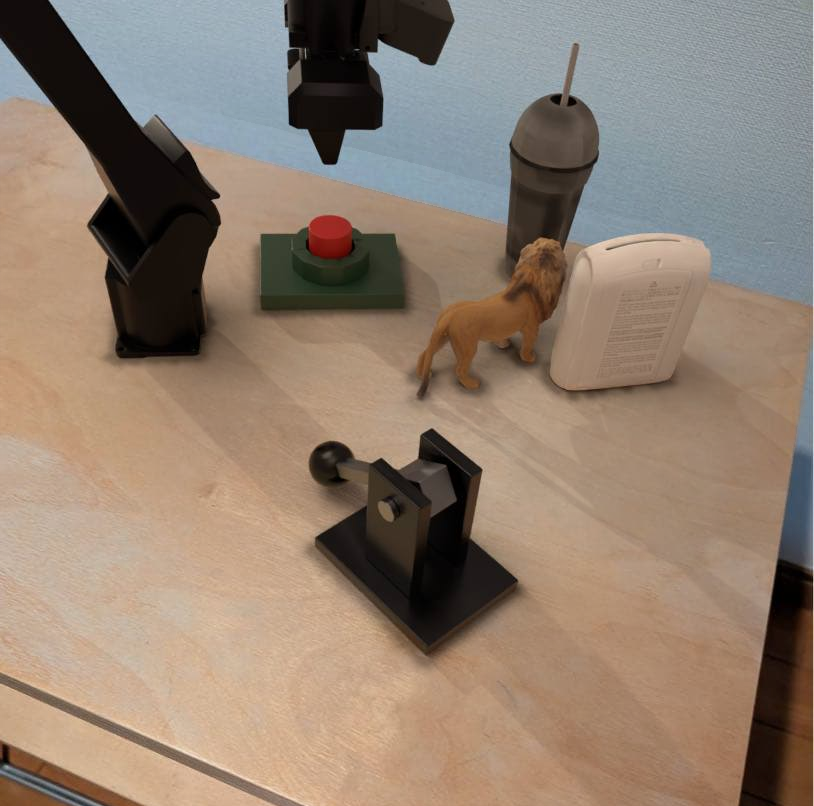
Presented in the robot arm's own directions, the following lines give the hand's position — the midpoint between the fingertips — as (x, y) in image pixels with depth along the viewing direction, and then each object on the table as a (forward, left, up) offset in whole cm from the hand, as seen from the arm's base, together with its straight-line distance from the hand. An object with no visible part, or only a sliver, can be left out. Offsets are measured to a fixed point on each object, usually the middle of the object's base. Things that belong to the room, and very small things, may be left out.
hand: (329, 162), depth 71 cm
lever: (+2, -29, -7) cm, 30 cm away
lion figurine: (+12, -11, -11) cm, 20 cm away
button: (0, 0, -8) cm, 8 cm away
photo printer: (+22, -13, -11) cm, 28 cm away
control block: (0, 0, -11) cm, 11 cm away
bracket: (+4, -32, -11) cm, 34 cm away
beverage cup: (+18, +1, -11) cm, 21 cm away
